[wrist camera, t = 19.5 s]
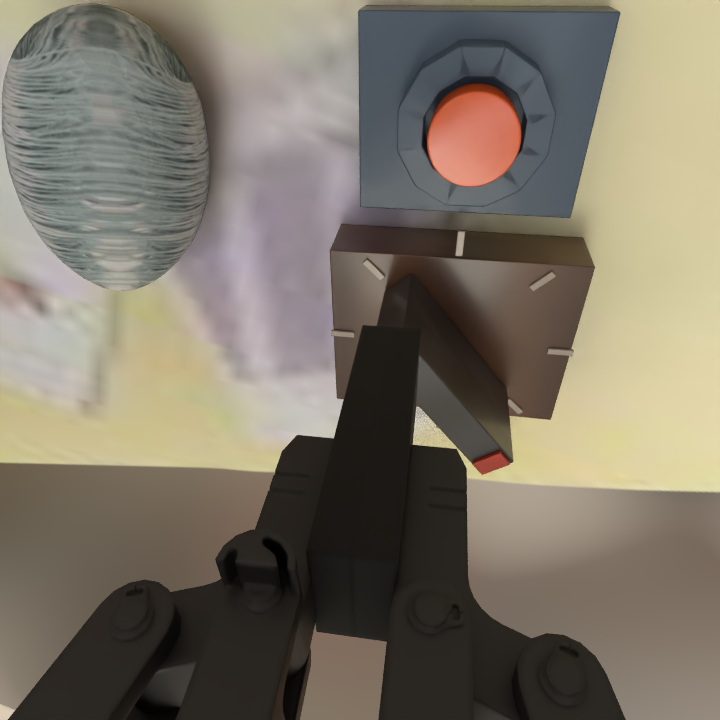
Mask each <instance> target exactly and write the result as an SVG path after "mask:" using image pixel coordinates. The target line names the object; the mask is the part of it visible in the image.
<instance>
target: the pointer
mask: <svg viewBox="0 0 720 720" xmlns="http://www.w3.org/2000/svg"><path fill="white" fill-rule="evenodd" d="M377 326H386V327H400V328H415V329H421V338H420V353H419V368H418V383H417V399H416V403H417V405H418V406H419V407H420V408H421V409H422V410H423V411H424V412H425V413H426V414H427V415H428V416H429V417H430V419H431V420H432V421H433V422H434V423H435V424H436V425H437V426H438V427H439V428H440V429H441V430H442V431H443V433H444V434H445V435H446V436H447V437H448V438H449V439H450V440H451V441H452V442H453V443H454V444H455V446H456V447H457V448H458V449H459V450H460V451H461V452H462V453H463V454H464V455H465V456H466V457H467V458H468V460H469V461H470V462H471V463H472V464H473V465H474V467H475V468H476V469H477V470H478V471H479V472H480V473H481V474H482V475H483V474H486V473H488V472H491V471H494V470H497V469H499V468H502V467H505V466H507V465H510V463H512V462H513V452H512V440H511V429H510V418H509V406H508V395H507V389H506V388H505V387H504V385H503V384H502V383H501V382H500V380H499V379H498V378H497V377H496V376H495V374H494V373H493V372H492V371H491V369H490V368H489V367H488V366H487V364H486V363H485V362H484V361H483V359H482V358H481V357H480V356H479V354H478V353H477V352H476V351H475V350H474V348H473V347H472V346H471V345H470V343H469V342H468V341H467V340H466V338H465V337H464V336H463V335H462V333H461V332H460V331H459V330H458V329H457V327H456V326H455V325H454V324H453V322H452V321H451V320H450V319H449V317H448V316H447V315H446V314H445V312H444V311H443V310H442V309H441V307H440V306H439V305H438V304H437V303H436V301H435V300H434V299H433V298H432V296H431V295H430V294H429V293H428V291H427V290H426V289H425V288H424V286H423V285H422V284H421V283H420V282H419V280H418V279H417V278H416V277H415V275H414V274H413V273H412V274H410V275H409V276H407V277H405V278H404V279H402V280H401V281H399V282H398V283H396V284H394V285H393V286H391V287H390V288H388V289H386V290H385V292H384V296H383V301H382V305H381V309H380V313H379V318H378V322H377Z"/></svg>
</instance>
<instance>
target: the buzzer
mask: <svg viewBox="0 0 720 720" xmlns="http://www.w3.org/2000/svg"><path fill="white" fill-rule="evenodd" d="M619 16H620V12H619V11H617V10H615V9H613V8H611V7H609V6H405V5H366V6H365V7H363V8H362V9H360V10H359V11H358V25H359V136H360V207H372V208H391V209H410V210H429V211H448V212H467V213H486V214H505V215H523V216H542V217H561V218H570V217H571V213H572V209H573V205H574V201H575V197H576V193H577V189H578V185H579V181H580V176H581V172H582V168H583V164H584V160H585V156H586V152H587V148H588V144H589V140H590V135H591V131H592V127H593V123H594V119H595V115H596V111H597V107H598V103H599V99H600V94H601V90H602V86H603V82H604V78H605V74H606V70H607V66H608V62H609V57H610V53H611V49H612V45H613V41H614V37H615V33H616V29H617V25H618V21H619ZM471 83H484V84H489V85H492V86H494V87H497V88H498V89H500V90H502V91H503V92H504V93H505V94H506V95H507V96H508V97H509V98H510V99H511V101H512V102H513V104H514V106H515V108H516V111H517V115H518V118H519V122H520V126H521V145H520V149H519V152H518V154H517V157H516V159H515V161H514V162H513V164H512V165H511V167H510V168H509V169H508V170H507V171H506V172H505V173H504V174H503V175H502V176H501V177H499V178H498V179H496V180H494V181H493V182H491V183H488V184H486V185H482V186H477V187H463V186H459V185H456V184H453V183H451V182H449V181H447V180H446V179H444V178H443V177H442V176H441V175H440V174H439V173H438V172H437V171H436V170H435V168H434V167H433V165H432V163H431V161H430V158H429V154H428V149H427V137H428V131H429V126H430V122H431V118H432V115H433V113H434V111H435V109H436V107H437V106H438V104H439V103H440V101H441V100H442V99H443V98H444V97H445V96H446V95H447V94H449V93H450V92H451V91H453V90H454V89H456V88H458V87H460V86H463V85H466V84H471Z"/></svg>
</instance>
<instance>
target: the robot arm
mask: <svg viewBox="0 0 720 720" xmlns="http://www.w3.org/2000/svg"><path fill="white" fill-rule="evenodd" d="M420 338H421V329H415V328H400V327H386V326H371V325H363V326H362V330H361V333H360V337H359V341H358V345H357V349H356V353H355V357H354V361H353V365H352V369H351V373H350V377H349V381H348V385H347V389H346V393H345V397H344V401H343V405H342V409H341V413H340V417H339V421H338V425H337V429H336V433H335V437H334V439H333V438H322V437H312V436H302V435H297V436H296V437H295V438H294V439H293V440H292V441H291V442H290V443H289V444H288V446H287V447H286V448H285V449H284V450H283V451H282V453H281V456H280V459H279V462H278V465H277V468H276V470H275V475H274V476H273V479H272V482H271V485H270V490H269V491H268V494H267V496H266V499H265V502H264V505H263V508H262V511H261V514H260V517H259V520H258V522H257V526H256V528H255V530H249V531H247V532H244V533H242V534H239V535H237V536H235V537H234V538H233V539H232V540H230V541H229V542H228V543H226V544H225V545H224V546H223V548H222V549H221V551H220V552H219V554H218V556H217V557H216V559H215V560H216V563H217V566H218V569H219V572H220V576H221V578H222V579H220V580H218V581H217V582H214V583H212V584H208V585H204V586H200V587H195V588H189V589H184V590H179V591H174V592H170V591H169V590H168V589H167V588H165V587H164V586H163V585H162V584H160V583H159V582H155V581H149V580H141V581H136V582H131V583H128V584H126V585H124V586H123V587H121V588H119V589H117V590H115V591H114V592H113V593H111V594H110V595H109V596H108V597H107V598H106V599H105V600H104V601H103V602H102V603H101V604H100V605H99V607H98V608H97V609H96V610H95V612H94V613H93V614H92V615H91V617H90V618H89V619H88V620H87V622H86V623H85V624H84V625H83V627H82V628H81V629H80V630H79V632H78V633H77V634H76V635H75V637H74V638H73V639H72V640H71V642H70V643H69V644H68V645H67V647H66V648H65V649H64V650H63V652H62V653H61V654H60V655H59V657H58V658H57V659H56V660H55V662H54V663H53V664H52V665H51V667H50V668H49V669H48V670H47V672H46V673H45V674H44V675H43V677H42V678H41V679H40V680H39V682H38V683H37V684H36V685H35V687H34V688H33V689H32V690H31V692H30V693H29V694H28V695H27V697H26V698H25V699H24V700H23V702H22V703H21V704H20V706H19V707H18V708H17V709H16V710H15V712H14V713H13V714H12V715H11V717H10V718H9V719H8V720H300V716H301V711H302V706H303V701H304V696H305V691H306V686H307V681H308V676H309V671H310V666H311V649H310V645H311V640H312V635H313V630H314V626H315V623H316V630H317V632H324V633H331V634H337V635H344V636H351V637H359V638H366V639H373V640H380V641H387V646H386V655H385V664H384V674H383V684H382V693H381V702H380V711H379V720H626V719H625V717H624V715H623V712H622V710H621V708H620V705H619V703H618V700H617V698H616V696H615V693H614V691H613V689H612V686H611V684H610V682H609V679H608V677H607V675H606V673H605V671H604V669H603V668H602V666H601V664H600V663H599V661H598V660H597V658H596V656H595V655H593V654H592V653H591V652H590V651H589V650H588V649H587V648H586V647H584V646H583V645H582V644H581V643H580V642H577V641H575V640H573V639H571V638H569V637H567V636H565V635H558V634H548V633H547V634H544V635H540V636H538V637H535V638H529V637H527V636H525V635H523V634H521V633H519V632H517V631H515V630H513V629H511V628H509V627H507V626H504V625H502V624H501V623H499V622H497V621H496V620H494V619H493V618H491V617H490V616H489V615H488V614H487V613H486V612H485V611H484V610H482V609H481V607H480V606H479V604H478V603H477V602H476V600H475V599H474V597H473V594H472V592H471V589H470V587H469V580H468V556H467V555H468V553H467V494H466V492H467V469H466V467H465V465H464V463H463V461H462V459H461V457H460V455H459V453H458V451H457V449H451V448H440V447H430V446H419V445H412V444H413V433H414V423H415V412H416V399H417V383H418V368H419V353H420Z"/></svg>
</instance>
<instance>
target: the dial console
mask: <svg viewBox="0 0 720 720" xmlns="http://www.w3.org/2000/svg"><path fill="white" fill-rule="evenodd" d="M330 263H331V284H332V305H333V326H334V330H332V331H331V333H332V336H334V347H335V368H336V389H337V398H338V399H344V397H345V393H346V389H347V385H348V381H349V377H350V373H351V369H352V365H353V361H354V357H355V353H356V349H357V345H358V341H359V337H360V333H361V330H362V326H363V325H371V326H377V322H378V318H379V313H380V309H381V305H382V301H383V296H384V292H385V290H386V289H388V288H390V287H391V286H393V285H394V284H396V283H398V282H399V281H401V280H402V279H404V278H405V277H407V276H409V275H410V274H412V273H413V274H414V275H415V277H416V278H417V279H418V280H419V282H420V283H421V284H422V285H423V286H424V288H425V289H426V290H427V291H428V293H429V294H430V295H431V296H432V298H433V299H434V300H435V301H436V303H437V304H438V305H439V306H440V307H441V309H442V310H443V311H444V312H445V314H446V315H447V316H448V317H449V319H450V320H451V321H452V322H453V324H454V325H455V326H456V327H457V329H458V330H459V331H460V332H461V333H462V335H463V336H464V337H465V338H466V340H467V341H468V342H469V343H470V345H471V346H472V347H473V348H474V350H475V351H476V352H477V353H478V354H479V356H480V357H481V358H482V359H483V361H484V362H485V363H486V364H487V366H488V367H489V368H490V369H491V371H492V372H493V373H494V374H495V376H496V377H497V378H498V379H499V380H500V382H501V383H502V384H503V385H504V387H505V388H506V389H507V395H508V406H509V416H518V417H528V418H538V419H548V420H551V417H552V413H553V410H554V407H555V403H556V400H557V396H558V393H559V389H560V386H561V382H562V379H563V376H564V372H565V369H566V365H567V362H568V358H569V356H572V355H573V350H571V348H572V345H573V341H574V338H575V334H576V331H577V327H578V324H579V321H580V317H581V314H582V310H583V307H584V303H585V300H586V296H587V293H588V290H589V286H590V283H591V279H592V276H593V272H594V269H595V266H594V263H593V261H592V258H591V256H590V253H589V251H588V248H587V245H586V243H585V240H584V238H573V237H555V236H538V235H521V234H503V233H486V232H468V231H464V230H458V231H451V230H433V229H416V228H399V227H381V226H364V225H346V224H341V227H340V229H339V231H338V233H337V236H336V238H335V240H334V242H333V245H332V247H331V249H330ZM416 406H418V405H417V403H416ZM418 407H419V406H418ZM436 428H439V427H438V426H436Z"/></svg>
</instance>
